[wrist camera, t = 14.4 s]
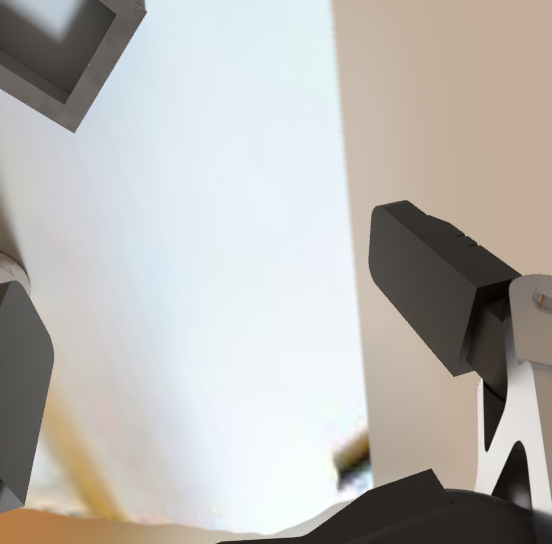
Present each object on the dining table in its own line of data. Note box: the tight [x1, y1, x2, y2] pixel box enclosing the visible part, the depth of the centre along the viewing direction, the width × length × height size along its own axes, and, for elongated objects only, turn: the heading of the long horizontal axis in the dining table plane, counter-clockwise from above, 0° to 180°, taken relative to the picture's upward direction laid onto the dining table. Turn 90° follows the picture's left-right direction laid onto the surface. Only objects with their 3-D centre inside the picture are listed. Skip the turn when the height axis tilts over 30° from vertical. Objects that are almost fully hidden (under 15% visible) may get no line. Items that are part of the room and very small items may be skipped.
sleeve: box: [0, 0, 147, 133], centre depth 30 cm, size 11×11×4 cm
